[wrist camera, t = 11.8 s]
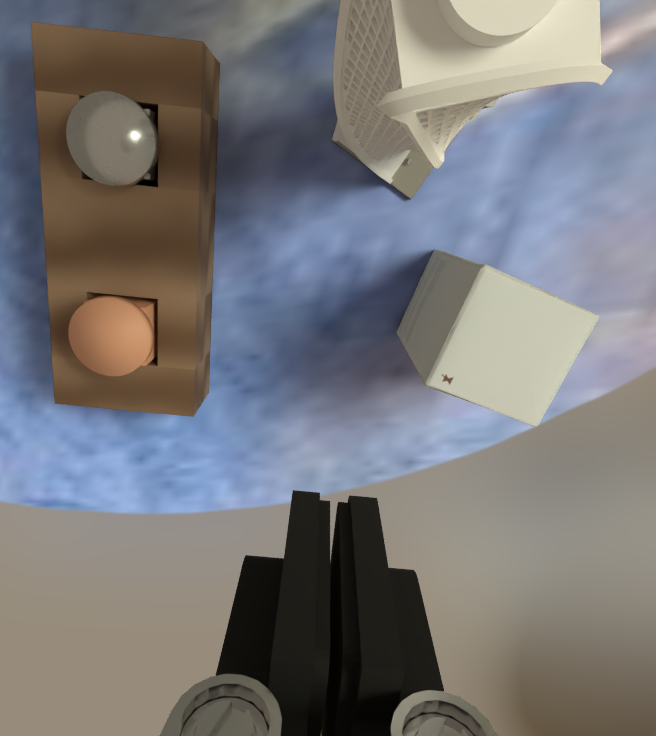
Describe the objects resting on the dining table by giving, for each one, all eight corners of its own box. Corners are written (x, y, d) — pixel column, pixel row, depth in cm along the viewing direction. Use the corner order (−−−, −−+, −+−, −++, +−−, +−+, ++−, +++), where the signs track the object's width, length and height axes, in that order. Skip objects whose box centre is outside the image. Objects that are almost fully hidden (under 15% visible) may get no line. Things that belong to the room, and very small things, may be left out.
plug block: (71, 46, 35) (30, 21, 30) (219, 63, 35) (202, 41, 30) (86, 380, 42) (54, 403, 37) (208, 392, 42) (193, 416, 38)
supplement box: (476, 367, 42) (536, 433, 30) (393, 333, 41) (420, 387, 29) (521, 282, 40) (605, 317, 28) (434, 244, 39) (482, 262, 27)
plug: (107, 105, 36) (63, 86, 30) (183, 113, 36) (154, 96, 30) (109, 184, 37) (68, 181, 31) (181, 192, 37) (154, 190, 32)
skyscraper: (398, 216, 38) (559, 243, 11) (307, 149, 37) (248, 1, 10) (471, 112, 36) (877, -152, 9) (377, 37, 35) (537, -526, 8)
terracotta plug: (106, 280, 38) (66, 294, 33) (176, 287, 39) (149, 302, 33) (108, 347, 40) (70, 372, 34) (175, 354, 40) (149, 380, 34)
